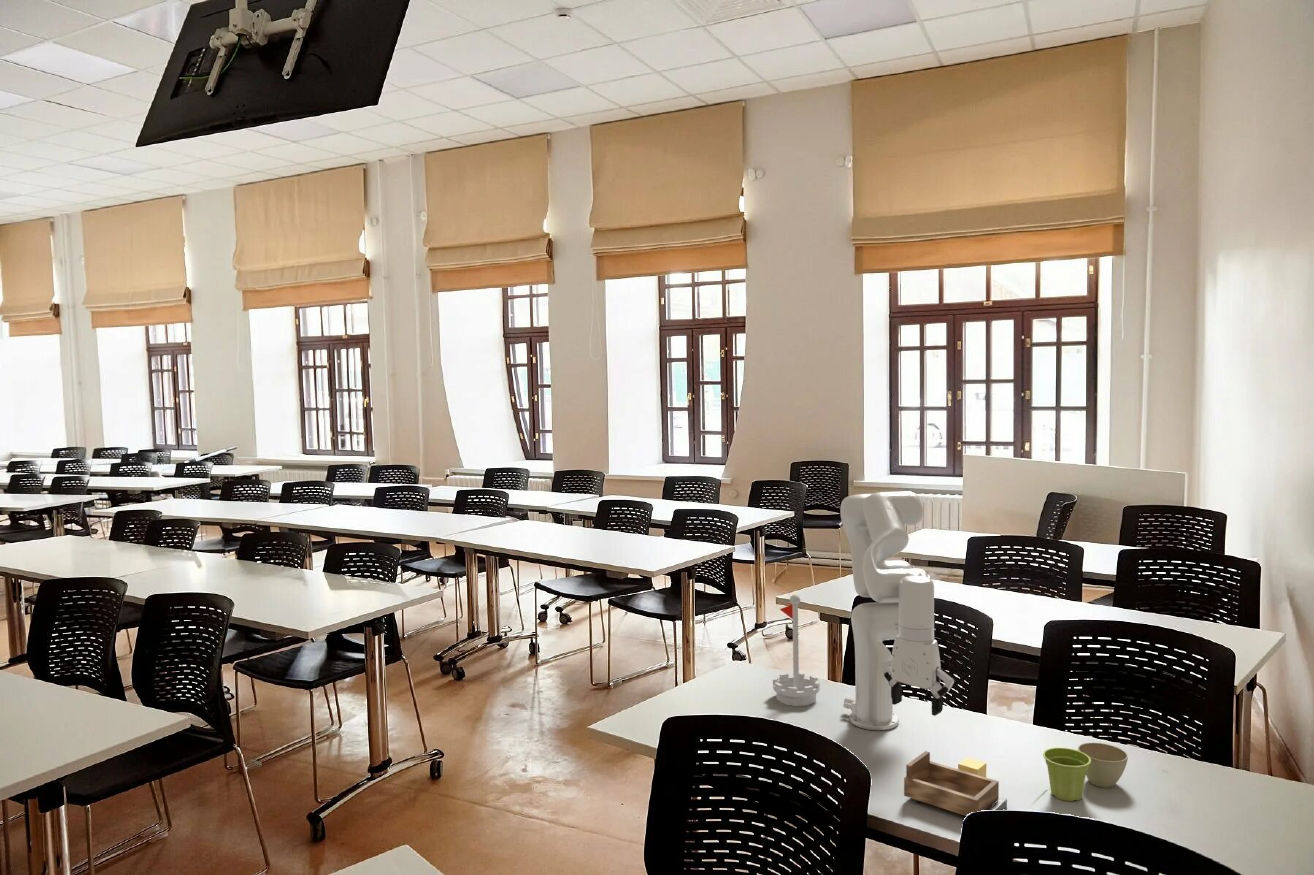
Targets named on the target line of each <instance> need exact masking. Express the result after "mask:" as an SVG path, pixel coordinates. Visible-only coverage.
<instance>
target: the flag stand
mask: <svg viewBox="0 0 1314 875" xmlns="http://www.w3.org/2000/svg"><path fill="white" fill-rule="evenodd" d="M789 602H790V603H791V604H790V605H787V606H785V607H782V608H779V610H780V611H781V612H783V613H784V614H785V615H786V616H788V617H789V618H790V619H791V620H792V660H793V662H792V668H793V670H792V671H793V672H792V673H793V674H792V676H790V675H789V673H788V672H784V673H780V674H779V677H778V676H774V677H773V678H772V690H773V691H774V692H776V700H777V699H778V700H777V701H778V702H779V701H780V702H779V703H780V704H783V703H784V704H783V705H786V704H787V706H791V705H792V707H805V706H809V705H812V704H814V703H815V702H816V701H817V694H818V693H819V692H820V690H821V689H820V688H821V685H820V680H818V677H817V676H815V675H813V674H811V675H809V677H806V676H805V675H806V674H805V673H804V672H799V670H800V668H799V666H800V665H799V664H800V662H799V658H800V657H799V653H800V652H799V604H800V603H801V597H800V595H799V594H796V593H794V594H791V596H790V597H789Z"/></svg>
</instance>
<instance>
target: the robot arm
mask: <svg viewBox="0 0 1314 875" xmlns="http://www.w3.org/2000/svg"><path fill="white" fill-rule="evenodd" d="M922 503H923V502H922V501H921V499H920V497H919V495H917V494H916V493H915V492H914V491H913V492H912V491H905V490H904V491H880V492H879V491H878V492H873V493H857V494H853V495H849V496H846V497H844V498H843V499H842V501H841V504H840V508H839V510H840V519H841V520H840V521H841V524H842V526H843V530H844V532H845V535H846V537H847V540H848V543H849V547H850V553H851V554H850V555H851V556H850V557H851V569H852V577H853V585H854V590H855V592H856V593H857V595H858V596H860V597H862V598H871V599H872V600H873V601H875V602H864V603H860V604H858V605H857V606H855V607H854V608H853V609H852V611H851V614H850V615H851V616H850V617H851V618H850V619H851V627H852V634H853V642H854V659H855V660H854V661H855V662H854V665H855V666H854V667H855V669H854V670H855V671H854V672H855V673H854V675H855V684H854V685H855V687H854V688H855V699H852V698H849V697H845V698H844V700H843V708H844V709H849V710H851V712H850V714H849V721H850V723H851V724H853V726H856V727H858V728H861V729H865V730H871V731H887V730H892V729H894V728H896V727H897V726H898V725H899V723H900V722H899V721H900V718H899V716H898V715H897V714H896V713H894V712H893V711H894V709H893V708H894V707H893V706H894V705H895V706H896V705H898V704H899V703H901V702H902V701H903V686H902V684H904V685H907V686H908V685H909V686H912V687H916V688H920V689H924V690H929V691H930V692H931V694H932V695H933V697H931V715H932V716H934V717H936V716H938V715H939V714H941V713H942V711H943V709H944V706H943V705H944V704H943V703H944V702H943V700H944V699H943V698H944V696H945V695H946V694H947V693H949V692H950V691H951V688H952V687H953V685H954V683H955V679H954V678H953V677H951V676H950V675H949V674H947V672H945V671H943V669H942V668H941V666H942V665H941V657H940V651H939V650H940V649H939V645H938V640H936V639H935V583H934V581H933V580H932V578H931V576H930V575H929V574H928V572H927V571H926V570H925V569H922V568H913V567H912V564H910V563H909V562H907V561H905V560H897V559H896V560H888V559H889V558H892V557H893V556H896V555H897V554H900V553H901V552H903V550H904V549H905V548H906V547H907V545H908V544H909V540H910V539H909V534H908V532H907V528H906V527H905V526H916V525H918V524H919V523H921V521H922V519H923V515H924V514H923V513H924V510H923V504H922ZM890 640H891V641H892V640H893V641H894V642H893V646H892V652H891V651H890V649H889V648H887V646H886V645H885V644H884V643H883V642H884V641H890ZM941 680H942V681H943V683H944V684H943V686H942V685H941V684H940V683H941Z"/></svg>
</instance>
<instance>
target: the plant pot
mask: <svg viewBox="0 0 1314 875" xmlns="http://www.w3.org/2000/svg"><path fill="white" fill-rule="evenodd" d="M1042 756H1043V758H1044V760H1045V763H1046V766H1047V773H1048V779H1049V787H1050V793H1051V795H1053V796H1054V797H1055V798H1056V799H1058V800H1061V801H1066V802H1073V801H1075V800H1076V801H1080V800H1082V798H1083V792H1084V787H1085V780H1086V777H1087V776H1086V771H1087V769H1088V766H1089V765H1090V763H1091V759H1090V757H1089V756H1088V755H1086V754H1085V753H1083V752H1080V751H1078V749H1073V748H1067V747H1051V748H1048V749H1046V750H1044V751H1043V753H1042Z"/></svg>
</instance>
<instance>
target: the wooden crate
mask: <svg viewBox="0 0 1314 875" xmlns="http://www.w3.org/2000/svg"><path fill="white" fill-rule="evenodd" d="M905 766H906V767H905V768H906V771H905V773H906V774H905V777H903V796H904V797H907V798H910V799H912V802H914V803H918V802H923V803H925V804H927V805H928V804H929V805H932V806H935V807H937V808H940V809H944V810H947V811H950V812H952V813H954V814H955V813H956V814H959V815H962V816H965V817H967V816H966V815H967V814H969V813H971V812H977V811H981V810H988V809H989V808H990V807H991V806H992V805H993V804H994V803H996V802H997V801H998V800H999V799H1000V796H999V790H1000V789H999V788H1000V784H999V782H1000V781H999V780H996V779H993V778H989V777H987V776H986V777H982V776H979V775H976V774H972V773H969V772H965V771H962V770H959V769H958V768H955V767H951V766H948V765H945V764H941V763H938V762H936V761H935V762H934V761H931V752H930V751H927V750H925V751H923V752H922V753H921V754H919V755H918V756H917V757H915V758H914V759H912V760H911V761H910V762H908V763H907V764H906V765H905Z"/></svg>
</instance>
